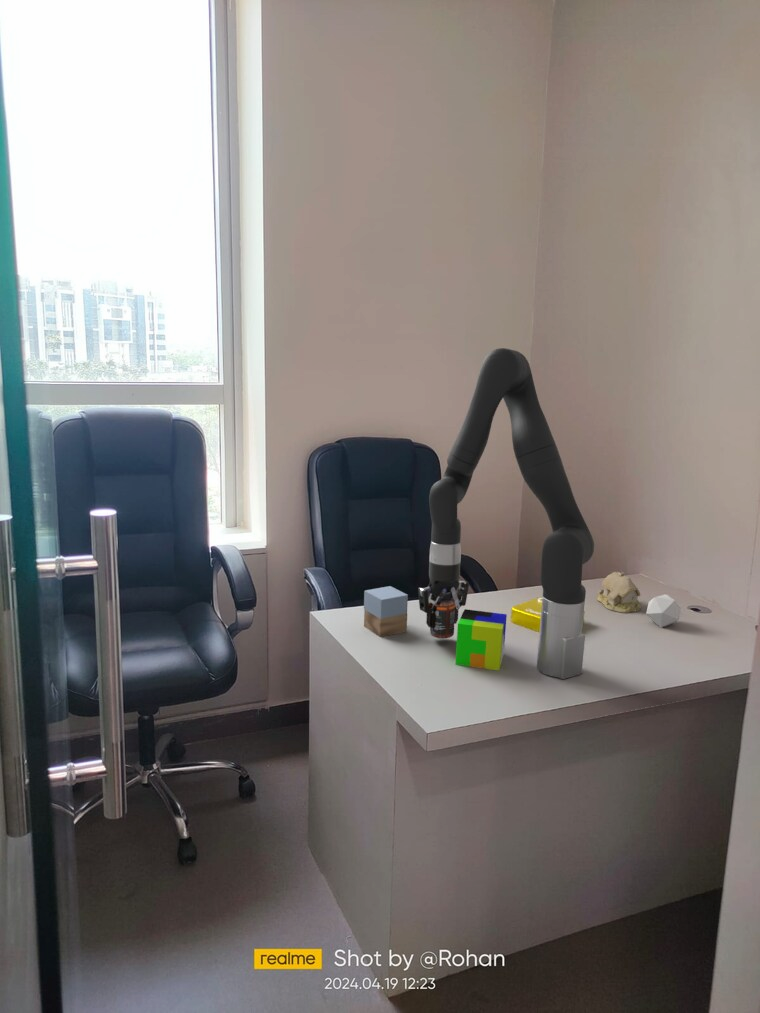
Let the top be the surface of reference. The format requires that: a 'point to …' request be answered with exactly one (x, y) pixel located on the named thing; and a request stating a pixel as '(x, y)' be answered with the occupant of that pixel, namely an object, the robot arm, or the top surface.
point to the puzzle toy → (481, 639)
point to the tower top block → (385, 602)
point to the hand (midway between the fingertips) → (442, 624)
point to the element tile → (528, 614)
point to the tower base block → (385, 624)
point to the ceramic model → (619, 593)
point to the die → (663, 610)
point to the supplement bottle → (444, 618)
